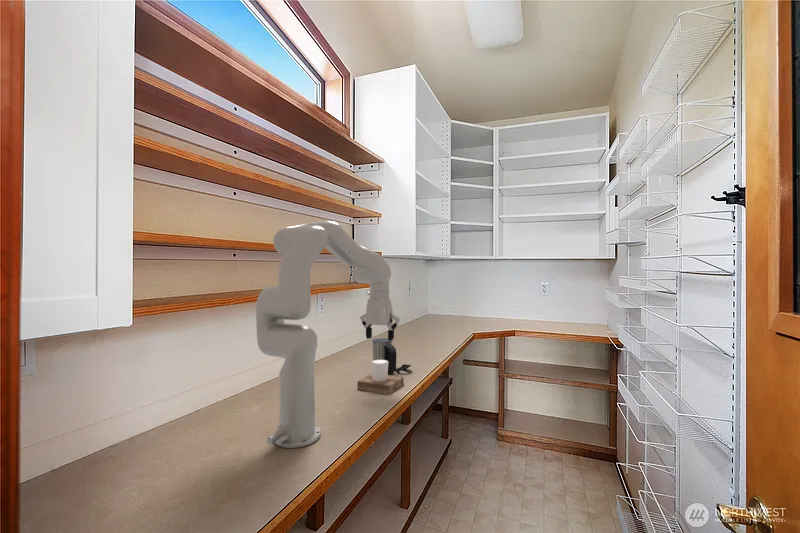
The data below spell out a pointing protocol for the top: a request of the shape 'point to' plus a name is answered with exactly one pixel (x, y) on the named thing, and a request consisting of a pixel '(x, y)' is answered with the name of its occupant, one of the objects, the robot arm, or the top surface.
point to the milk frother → (386, 354)
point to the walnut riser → (381, 384)
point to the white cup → (379, 370)
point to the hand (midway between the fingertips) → (379, 339)
